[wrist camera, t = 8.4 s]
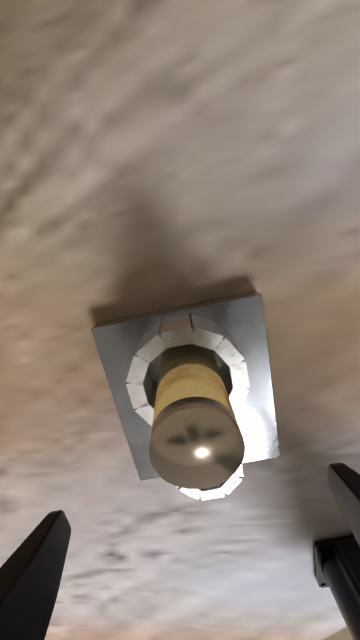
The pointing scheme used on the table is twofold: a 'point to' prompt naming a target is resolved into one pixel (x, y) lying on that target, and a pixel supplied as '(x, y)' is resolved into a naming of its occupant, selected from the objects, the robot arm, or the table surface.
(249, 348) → the plate
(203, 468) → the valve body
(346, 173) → the table surface
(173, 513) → the table surface
